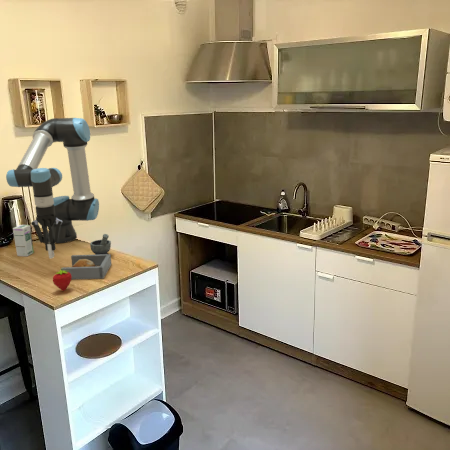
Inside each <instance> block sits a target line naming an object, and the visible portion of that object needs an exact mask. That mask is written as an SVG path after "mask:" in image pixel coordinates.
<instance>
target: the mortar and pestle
mask: <svg viewBox="0 0 450 450" xmlns="http://www.w3.org/2000/svg"><path fill="white" fill-rule="evenodd" d="M111 244H112V241H111V240H109V234H107V233H103V234H102V239H95V240H93V241H91V242H90V244H89V245H90V250H91V252H92V253H93V254H94V255H98V254H109V252H110V250H111V246H112V245H111Z"/></svg>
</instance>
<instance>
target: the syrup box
mask: <svg viewBox="0 0 450 450" xmlns="http://www.w3.org/2000/svg"><path fill="white" fill-rule="evenodd" d="M31 230H32V229H31V226H30V225H29V224H18V225H17V226H15V227H12V231H13V239H14V245H15V251H16V255H17V257H29V256H30V255H32V254H35V250H34V243H33V238H32V231H31Z"/></svg>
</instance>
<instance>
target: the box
mask: <svg viewBox="0 0 450 450" xmlns="http://www.w3.org/2000/svg"><path fill="white" fill-rule="evenodd" d="M111 257H112V255H111V253H110V254H109V253H108V254H98V255H95V254H73V255H70V258H71V267H69V266H68V267H60V270H62V271H63V270H65V271H67V272H69V273H70V274H71V276H72V278H71V281H72V280H73V281H74V280H98V279H99V280H100V279H101V280H102V279H105V277H106V276H107V273H108V271H109V270H110V268H111V267H112V258H111ZM80 259H88V260H90V261H92V262H93V263H94V264H95V266H96V267H73V265H74V264H75V263H76V262H77V261H78V260H80Z"/></svg>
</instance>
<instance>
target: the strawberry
mask: <svg viewBox="0 0 450 450" xmlns="http://www.w3.org/2000/svg"><path fill="white" fill-rule="evenodd" d="M71 278H72V276H71V274H70V273H69V272H67V271H65V270H63V271H62V270H61V269H59V271H57V272H56V273H54V275H53V276H52V282H53V284H54V285H55V286H56V287H57V288H58V289H60V290H61V291H62V292H65V291H67V289H68V287H69V285H70V284H71V282H72V280H71Z"/></svg>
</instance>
